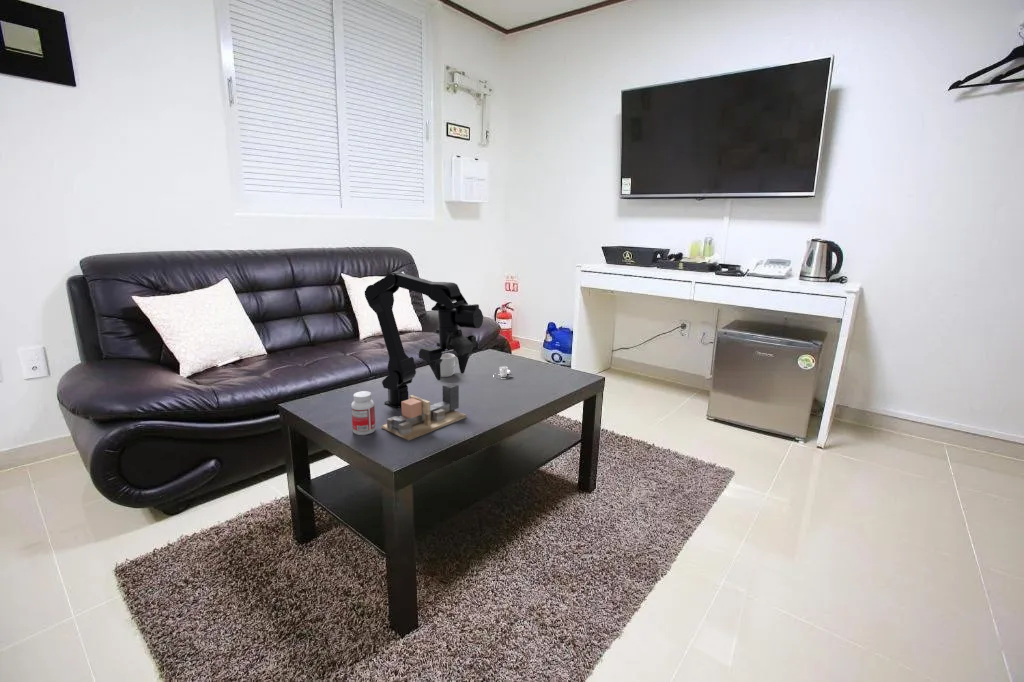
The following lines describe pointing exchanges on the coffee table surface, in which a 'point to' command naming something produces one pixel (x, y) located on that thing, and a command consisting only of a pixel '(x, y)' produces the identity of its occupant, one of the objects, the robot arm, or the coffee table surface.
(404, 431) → the rail
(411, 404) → the block
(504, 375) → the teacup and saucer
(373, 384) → the coffee table surface
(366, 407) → the pill bottle
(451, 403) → the grey metal bar
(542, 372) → the coffee table surface
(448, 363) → the cup
